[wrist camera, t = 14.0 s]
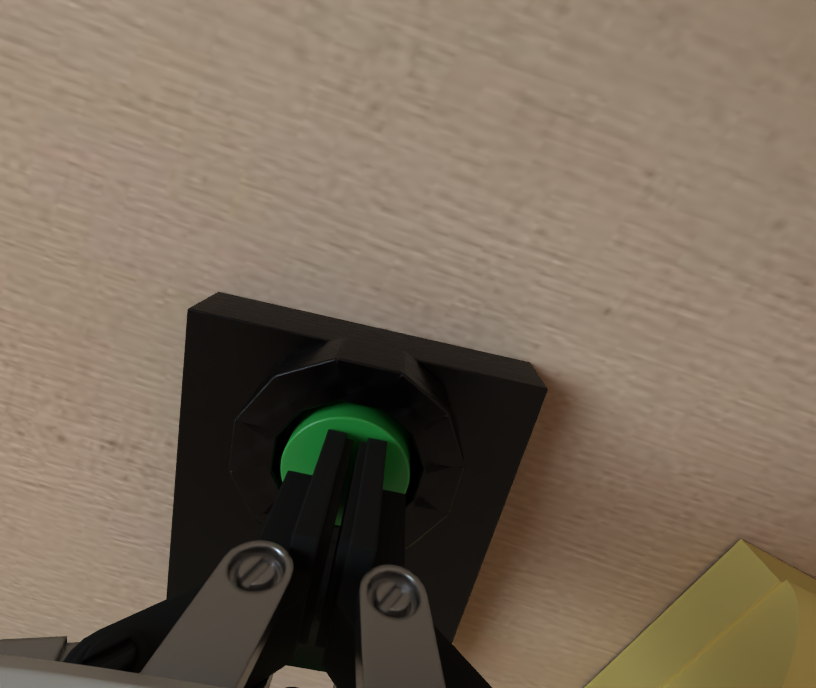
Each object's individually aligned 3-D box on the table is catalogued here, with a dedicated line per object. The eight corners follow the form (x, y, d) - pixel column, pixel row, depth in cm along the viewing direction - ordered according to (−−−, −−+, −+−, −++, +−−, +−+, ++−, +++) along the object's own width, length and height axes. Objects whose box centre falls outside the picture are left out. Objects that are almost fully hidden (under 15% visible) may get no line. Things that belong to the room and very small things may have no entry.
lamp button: (304, 377, 13) (289, 404, 12) (422, 402, 14) (423, 432, 12) (287, 476, 14) (271, 514, 13) (395, 498, 15) (394, 537, 13)
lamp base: (218, 284, 15) (153, 317, 11) (532, 355, 16) (571, 409, 12) (188, 596, 20) (135, 694, 16) (432, 639, 20) (436, 742, 17)
